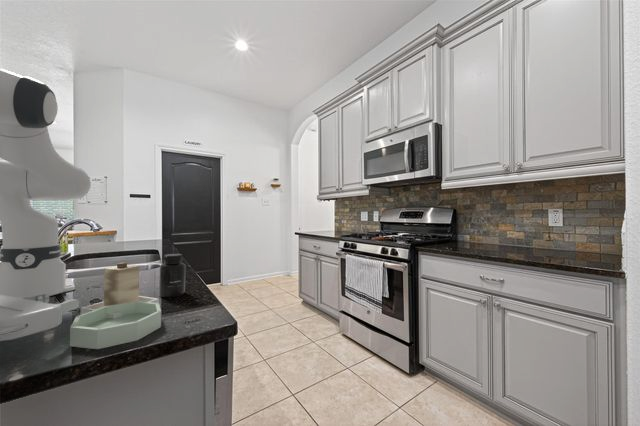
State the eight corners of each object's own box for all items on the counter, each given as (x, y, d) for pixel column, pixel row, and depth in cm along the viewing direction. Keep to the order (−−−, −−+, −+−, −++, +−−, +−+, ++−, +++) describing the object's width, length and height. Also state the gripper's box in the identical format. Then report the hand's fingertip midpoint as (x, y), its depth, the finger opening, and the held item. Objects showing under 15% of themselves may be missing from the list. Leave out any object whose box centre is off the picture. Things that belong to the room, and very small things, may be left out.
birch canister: (103, 313, 64) (104, 264, 64) (124, 306, 69) (125, 260, 69) (118, 316, 63) (118, 265, 63) (138, 309, 67) (139, 262, 67)
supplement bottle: (173, 299, 75) (174, 257, 75) (153, 297, 77) (153, 256, 77) (190, 291, 82) (190, 253, 82) (171, 290, 83) (171, 252, 83)
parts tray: (80, 316, 62) (80, 307, 62) (128, 301, 73) (128, 294, 73) (113, 323, 59) (113, 314, 59) (158, 306, 69) (158, 298, 69)
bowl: (79, 326, 57) (79, 310, 57) (157, 312, 65) (157, 298, 65) (65, 356, 45) (65, 336, 45) (162, 334, 54) (163, 317, 54)
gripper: (-13, 316, 38) (95, 290, 51) (-80, 300, 44) (32, 280, 57) (-13, 360, 38) (95, 322, 51) (-80, 338, 44) (31, 309, 57)
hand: (61, 300), depth 54 cm, fingers open, 8 cm apart
